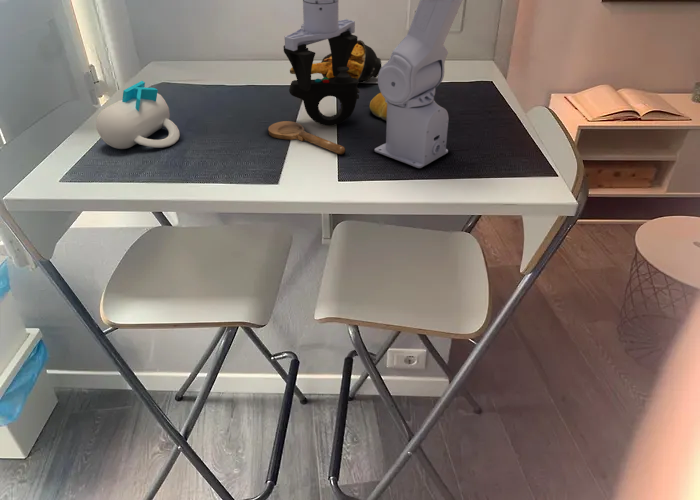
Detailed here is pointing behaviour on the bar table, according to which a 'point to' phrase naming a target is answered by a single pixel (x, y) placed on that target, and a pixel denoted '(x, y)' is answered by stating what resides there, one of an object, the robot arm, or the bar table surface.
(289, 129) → the spoon
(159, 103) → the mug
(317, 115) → the controller
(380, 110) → the bread roll
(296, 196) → the bar table surface
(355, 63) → the fried shrimp in bowl
